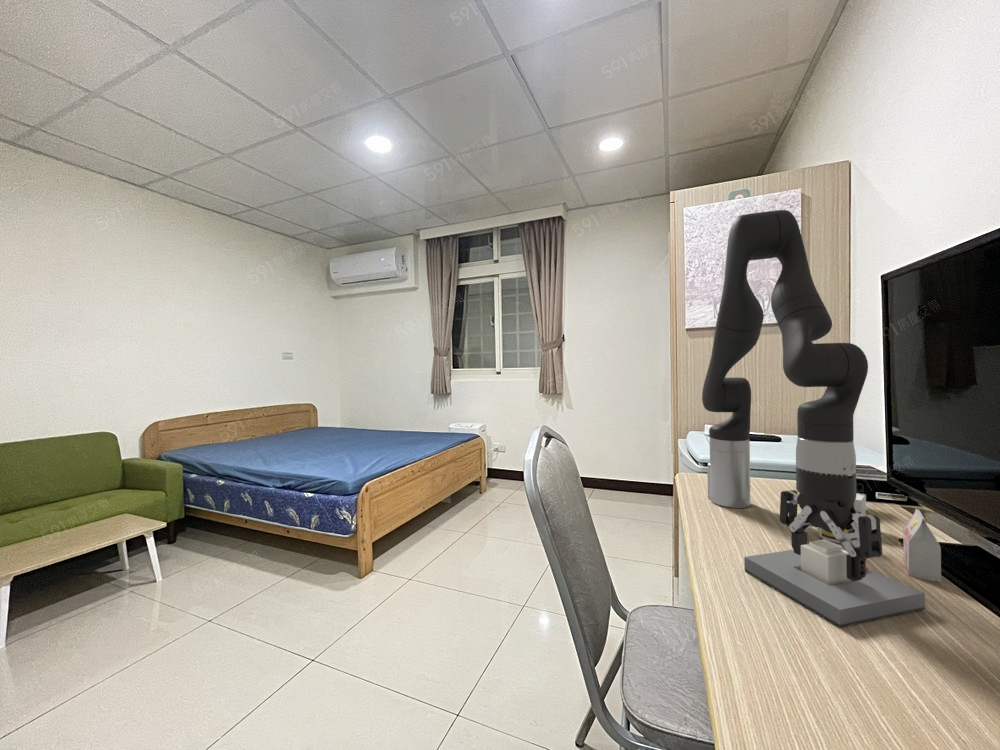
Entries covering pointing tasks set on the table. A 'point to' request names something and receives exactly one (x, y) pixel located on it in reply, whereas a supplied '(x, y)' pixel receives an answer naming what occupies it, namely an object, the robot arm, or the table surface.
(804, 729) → the table surface
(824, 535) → the supplement bottle
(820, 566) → the plug
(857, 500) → the skincare box
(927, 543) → the tea bag
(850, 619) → the socket
